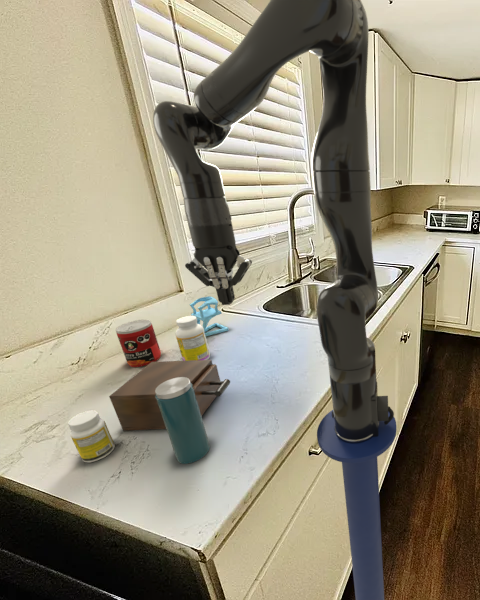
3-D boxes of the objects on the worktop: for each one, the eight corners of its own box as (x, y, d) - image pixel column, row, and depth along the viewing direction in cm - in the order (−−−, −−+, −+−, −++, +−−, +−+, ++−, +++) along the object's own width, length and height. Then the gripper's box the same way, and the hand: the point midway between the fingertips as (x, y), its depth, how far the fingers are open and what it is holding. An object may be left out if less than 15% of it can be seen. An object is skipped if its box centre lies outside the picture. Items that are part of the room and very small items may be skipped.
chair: (192, 334, 107) (182, 300, 103) (216, 324, 114) (209, 292, 110) (204, 340, 103) (195, 305, 99) (229, 330, 110) (221, 297, 106)
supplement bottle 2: (187, 356, 94) (175, 315, 90) (212, 352, 96) (202, 312, 91) (180, 368, 88) (168, 325, 84) (208, 364, 90) (197, 322, 85)
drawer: (240, 387, 78) (234, 363, 76) (217, 421, 68) (210, 394, 65) (169, 390, 78) (161, 366, 75) (135, 424, 67) (124, 397, 65)
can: (215, 440, 64) (197, 375, 58) (200, 463, 59) (179, 394, 53) (187, 441, 64) (166, 376, 58) (170, 464, 59) (146, 396, 53)
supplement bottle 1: (89, 447, 63) (73, 412, 60) (119, 440, 64) (105, 405, 61) (77, 466, 58) (59, 430, 55) (109, 458, 60) (93, 422, 57)
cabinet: (219, 390, 79) (211, 359, 76) (190, 427, 67) (180, 393, 64) (161, 392, 78) (151, 361, 75) (122, 430, 67) (108, 396, 64)
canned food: (122, 369, 88) (108, 333, 84) (137, 354, 95) (125, 320, 91) (153, 366, 89) (141, 330, 86) (166, 351, 97) (156, 318, 93)
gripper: (163, 224, 60) (186, 311, 66) (236, 223, 60) (252, 309, 67) (186, 219, 67) (205, 298, 73) (251, 218, 67) (265, 296, 74)
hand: (227, 303), depth 70 cm, fingers closed
